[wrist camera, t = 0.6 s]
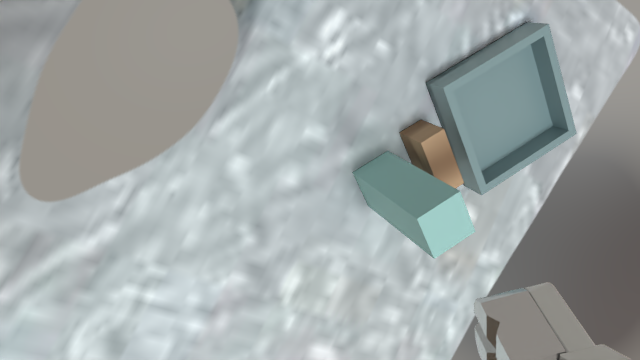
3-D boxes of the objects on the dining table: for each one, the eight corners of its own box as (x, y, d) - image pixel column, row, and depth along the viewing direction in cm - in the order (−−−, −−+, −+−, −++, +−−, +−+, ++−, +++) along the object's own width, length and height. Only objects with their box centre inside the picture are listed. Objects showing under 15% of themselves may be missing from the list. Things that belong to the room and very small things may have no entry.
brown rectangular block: (399, 132, 53) (421, 143, 50) (420, 119, 54) (443, 128, 50) (420, 183, 56) (442, 196, 52) (440, 170, 56) (464, 183, 53)
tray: (425, 82, 53) (442, 87, 50) (526, 22, 54) (548, 23, 52) (464, 185, 58) (481, 195, 55) (555, 127, 60) (576, 133, 57)
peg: (352, 172, 53) (417, 218, 42) (387, 150, 53) (460, 191, 43) (368, 205, 54) (434, 258, 44) (402, 184, 55) (475, 231, 44)
